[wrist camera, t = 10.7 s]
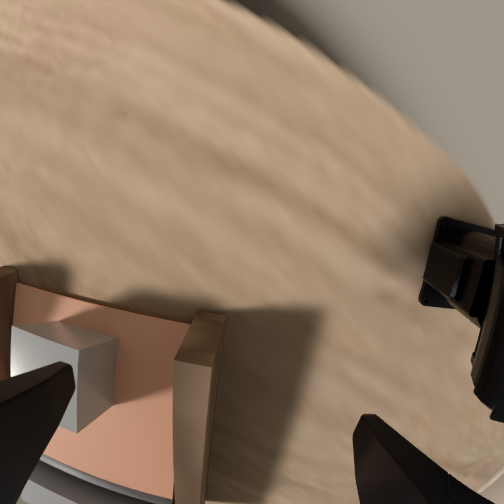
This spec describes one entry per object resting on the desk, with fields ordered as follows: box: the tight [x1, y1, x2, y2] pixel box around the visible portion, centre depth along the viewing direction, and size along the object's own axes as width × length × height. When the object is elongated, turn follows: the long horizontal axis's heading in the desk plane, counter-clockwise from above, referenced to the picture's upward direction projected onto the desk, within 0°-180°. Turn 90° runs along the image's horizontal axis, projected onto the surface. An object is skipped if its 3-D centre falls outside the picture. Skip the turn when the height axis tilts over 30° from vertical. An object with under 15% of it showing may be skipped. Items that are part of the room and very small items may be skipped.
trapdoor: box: [13, 283, 191, 504], centre depth 20 cm, size 16×22×5 cm
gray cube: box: [11, 321, 118, 434], centre depth 18 cm, size 6×6×6 cm
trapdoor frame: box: [0, 266, 226, 504], centre depth 21 cm, size 21×25×6 cm
